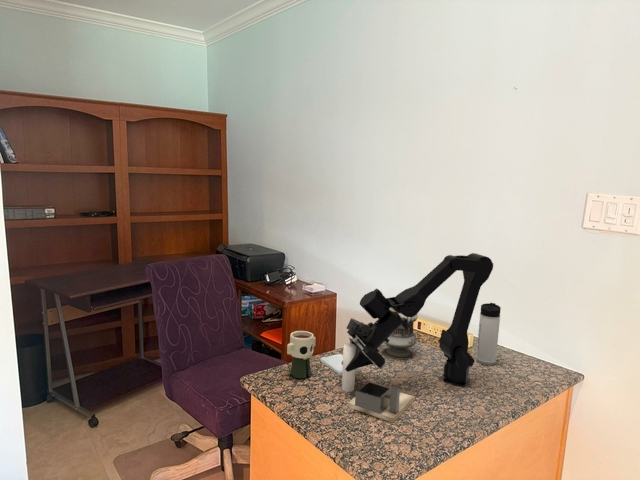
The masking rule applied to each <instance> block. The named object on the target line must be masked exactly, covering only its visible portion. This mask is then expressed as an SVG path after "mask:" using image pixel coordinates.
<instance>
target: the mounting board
mask: <svg viewBox="0 0 640 480" xmlns="http://www.w3.org/2000/svg"><path fill="white" fill-rule="evenodd" d="M414 401H415V396H413V395H410V394H407V393H404V392H401V391H400V397H399V412H398V413H397V414H393V413H390V412H389V407H390V405H389V406H388V407H387V408H386V409H385V410H384V411H383V412H382V413H381V414H379V413H376V412H373V411H370V410H367V409H364V408H361V407H358V406H355V396H354V397H353V398H352V399H351V400H349V401H347V407H348V408H350V409H353V410H354V411H355V410H356V411H357V412H361V413H363V414H367V415H370V416H371V417H372V416H373V417H375V418H378V419H381V420H385V421H387V422H389V423H393V424H394V422H396V421H397V420H398V418H400V416H401V415H402V414H403V413H404V412H405V411H406V410H407V409H408V408H409V406H410V405H411V404H412V403H413V402H414Z"/></svg>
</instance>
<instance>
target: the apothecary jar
mask: <svg viewBox="0 0 640 480" xmlns="http://www.w3.org/2000/svg"><path fill="white" fill-rule="evenodd" d="M389 310H390V311H391V312H396V311H394V310H393V309H392V308H390V309H389ZM397 313H398V312H397ZM398 314H399V315H400V316H401V317H402V318H406V319H407V320H408V321H407V326H408V328H407V329H405V328H404V327H402V326H401V325H400V326H399V327H398V328H397V329H396V330H395V331H394V332H393V333H392V335H391V336H390V337H389V338H388V339H389V340H390V341H389V342H388V343H387V342H386V341H385V342H384V343H383V344H385V345H386V346H387V347H388V348H385V349H384V351H383V354H384V355H385V356H386V357H389V358H390V359H391V358H392V359H395V360H409V359H410V358H412V357H413V352H412V351H411V350H410V349H409V348H411V347H414V346H415V345H416V344H417V340H418V339H417V336H416V334H415V333H414V323H415V322H416V321H417V320H418V316H419V315H418V314H417V315H415V316H414V317H406V316H404V315H403V314H401V313H398Z"/></svg>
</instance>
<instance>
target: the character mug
mask: <svg viewBox="0 0 640 480" xmlns="http://www.w3.org/2000/svg"><path fill="white" fill-rule="evenodd" d="M314 347H316V336H314V333H312V332H309V331H308V330H307V331H306V330H295V331H293V332H291V333H290V336H289V343H288V344H287V345H286V353H287V355H290V356H291V357H292V361H291V367H290V376H293V377H295V378H297V379H306V378H307V376H308V378H309V377H310V376H311V375H312V372H311V371H312V370H311V369H312V368H311V361H310V359H311V357H312V356H313V354H314Z"/></svg>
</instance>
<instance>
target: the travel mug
mask: <svg viewBox="0 0 640 480" xmlns="http://www.w3.org/2000/svg"><path fill="white" fill-rule="evenodd" d="M501 310H502V309H501V306H500V305H498V304H496V303H493V302H489V303H483V304H481V305H480V313H479V321H478V322H479V323H478V324H479V325H478V337H477V347H476V359H475V361H476V362H477V363H478V364H480V365H482V364H483V366H487V365H492V366H495V365H496V363H497V354H498V344H499V343H498V342H499V332H500V322H501Z"/></svg>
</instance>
